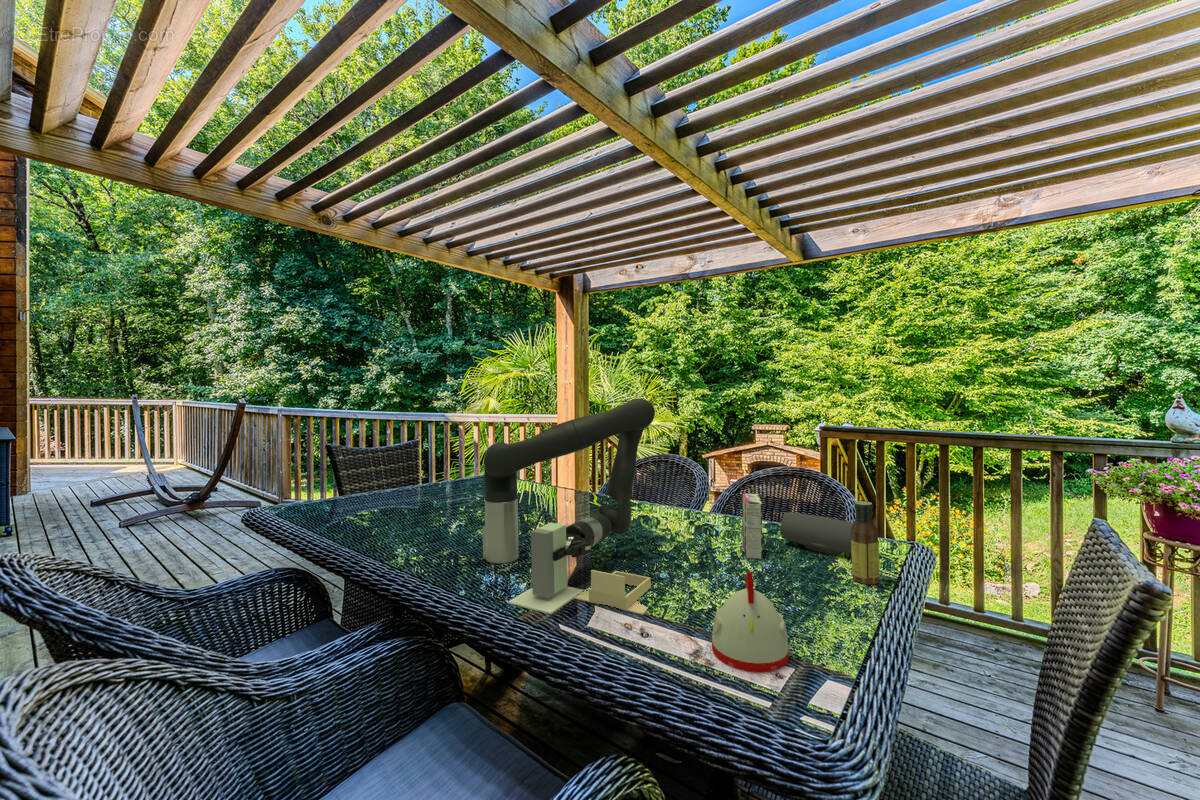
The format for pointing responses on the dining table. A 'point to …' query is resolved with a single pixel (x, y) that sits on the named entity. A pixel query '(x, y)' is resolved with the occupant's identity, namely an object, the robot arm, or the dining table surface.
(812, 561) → the dining table surface
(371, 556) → the dining table surface
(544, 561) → the slim sage box
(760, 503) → the candy bar box
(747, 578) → the kitchen timer
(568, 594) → the mat
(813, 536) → the bluetooth speaker
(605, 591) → the tan open holder
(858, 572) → the sauce bottle
